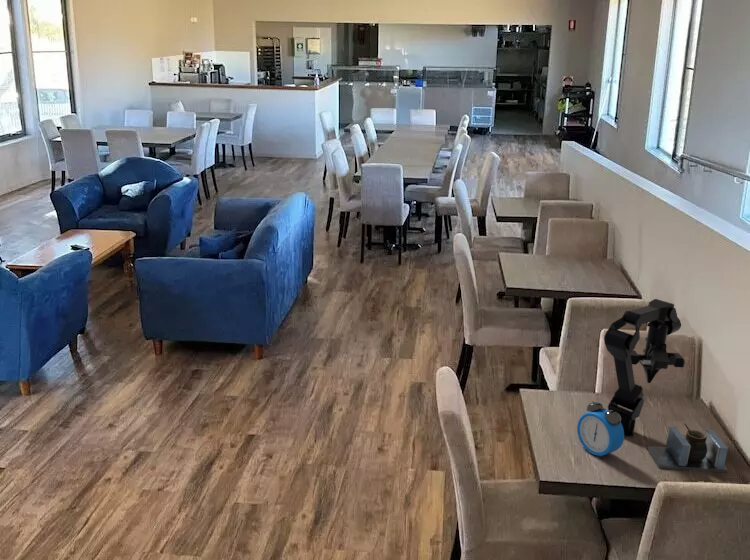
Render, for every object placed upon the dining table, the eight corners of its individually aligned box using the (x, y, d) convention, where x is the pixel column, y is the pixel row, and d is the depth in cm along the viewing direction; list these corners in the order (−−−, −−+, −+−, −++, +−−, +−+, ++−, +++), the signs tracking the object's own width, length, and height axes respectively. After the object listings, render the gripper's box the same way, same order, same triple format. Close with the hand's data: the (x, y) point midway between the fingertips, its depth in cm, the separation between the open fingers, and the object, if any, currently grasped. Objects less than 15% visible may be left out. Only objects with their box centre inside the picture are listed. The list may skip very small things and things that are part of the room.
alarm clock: (573, 444, 230) (580, 400, 225) (587, 439, 233) (593, 395, 229) (608, 464, 220) (615, 418, 215) (621, 459, 223) (629, 413, 219)
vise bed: (658, 468, 219) (663, 444, 217) (646, 448, 230) (650, 425, 227) (727, 472, 219) (732, 448, 217) (712, 453, 230) (717, 429, 227)
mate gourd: (703, 467, 219) (708, 436, 216) (676, 459, 223) (681, 428, 220) (707, 456, 225) (713, 426, 222) (681, 449, 229) (686, 419, 226)
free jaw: (678, 465, 219) (682, 445, 217) (665, 446, 229) (669, 426, 227) (687, 466, 219) (691, 445, 217) (674, 446, 229) (677, 427, 227)
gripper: (635, 346, 233) (627, 391, 238) (695, 349, 233) (686, 395, 238) (624, 332, 244) (617, 376, 248) (682, 336, 244) (673, 380, 248)
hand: (648, 382), depth 245 cm, fingers closed
